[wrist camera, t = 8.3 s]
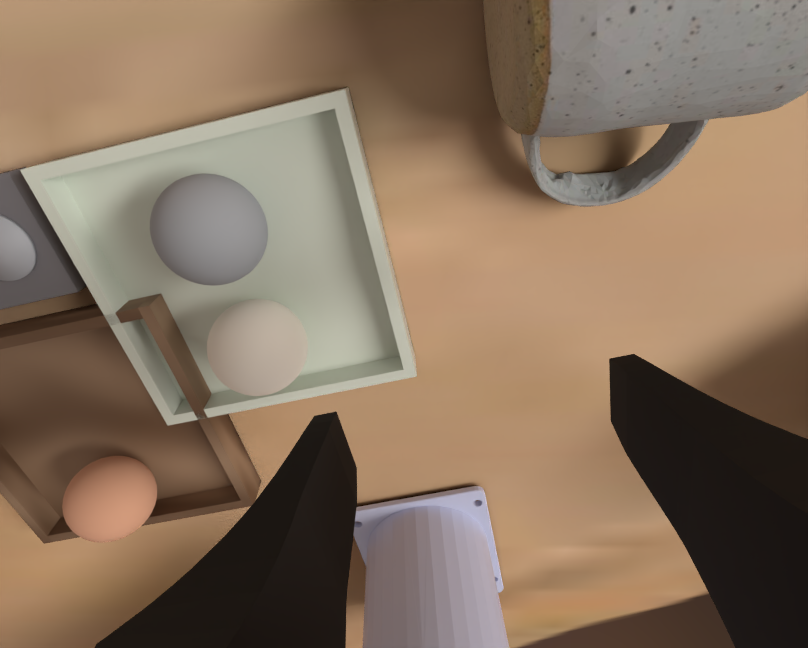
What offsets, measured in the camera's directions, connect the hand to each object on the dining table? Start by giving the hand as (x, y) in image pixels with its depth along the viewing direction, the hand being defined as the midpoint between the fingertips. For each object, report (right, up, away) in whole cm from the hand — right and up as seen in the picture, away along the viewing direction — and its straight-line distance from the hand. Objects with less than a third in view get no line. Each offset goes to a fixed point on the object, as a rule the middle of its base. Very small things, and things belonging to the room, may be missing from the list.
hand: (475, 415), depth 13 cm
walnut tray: (-17, -2, +12) cm, 21 cm away
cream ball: (-8, +2, +9) cm, 12 cm away
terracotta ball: (-16, -5, +13) cm, 21 cm away
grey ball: (-9, +7, +7) cm, 13 cm away
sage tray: (-8, +5, +8) cm, 13 cm away
